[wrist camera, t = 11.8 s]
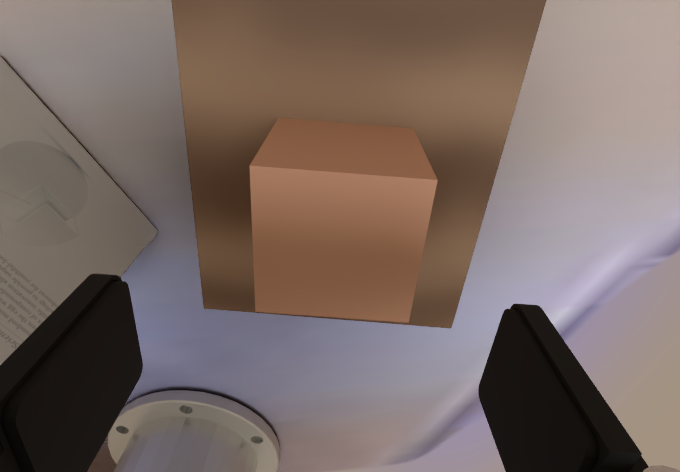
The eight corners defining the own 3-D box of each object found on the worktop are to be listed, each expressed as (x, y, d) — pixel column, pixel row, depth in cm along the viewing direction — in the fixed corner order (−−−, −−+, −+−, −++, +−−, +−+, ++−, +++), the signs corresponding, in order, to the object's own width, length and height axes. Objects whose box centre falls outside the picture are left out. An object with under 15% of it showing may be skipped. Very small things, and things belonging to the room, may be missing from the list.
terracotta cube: (394, 243, 18) (408, 322, 14) (278, 235, 18) (255, 311, 13) (413, 128, 15) (437, 179, 11) (278, 117, 15) (249, 165, 11)
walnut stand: (436, 279, 24) (451, 328, 20) (225, 262, 23) (203, 308, 20) (506, -3, 17) (546, -3, 13) (206, -32, 16) (167, -40, 13)
